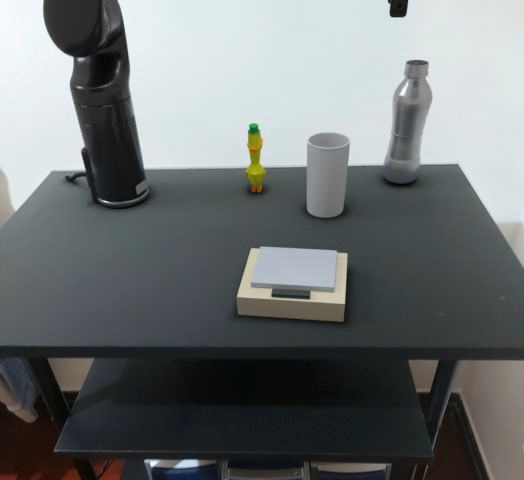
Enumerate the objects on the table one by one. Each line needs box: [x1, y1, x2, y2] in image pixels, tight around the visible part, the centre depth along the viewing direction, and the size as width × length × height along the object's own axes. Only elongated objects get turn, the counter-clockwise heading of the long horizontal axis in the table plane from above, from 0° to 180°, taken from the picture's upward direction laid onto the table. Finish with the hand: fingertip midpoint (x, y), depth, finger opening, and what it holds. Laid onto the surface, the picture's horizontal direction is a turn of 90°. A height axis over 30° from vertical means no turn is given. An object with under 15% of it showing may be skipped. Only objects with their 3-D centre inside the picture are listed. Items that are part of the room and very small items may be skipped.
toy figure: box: [245, 122, 267, 193], centre depth 96 cm, size 7×4×12 cm, turn 174°
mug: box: [306, 131, 351, 219], centre depth 90 cm, size 10×7×12 cm, turn 167°
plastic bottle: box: [382, 59, 434, 185], centre depth 94 cm, size 6×7×20 cm
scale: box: [236, 246, 348, 323], centre depth 75 cm, size 14×12×4 cm
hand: (396, 10), depth 74 cm, fingers open, 8 cm apart
